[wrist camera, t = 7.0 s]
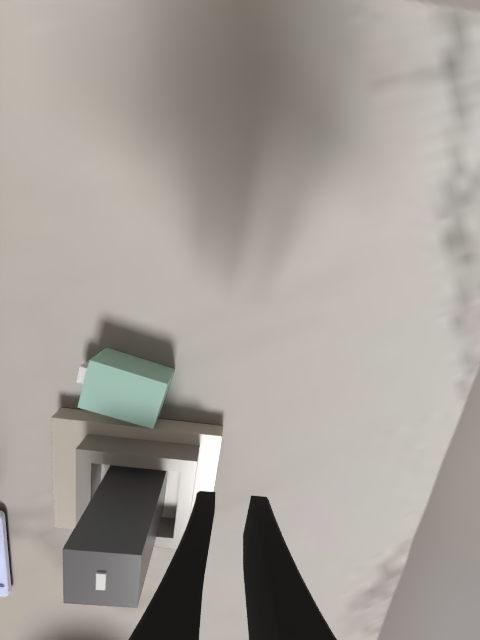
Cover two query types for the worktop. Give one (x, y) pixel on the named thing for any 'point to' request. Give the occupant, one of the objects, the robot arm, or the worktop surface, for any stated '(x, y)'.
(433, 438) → the worktop surface
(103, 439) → the plate
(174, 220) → the worktop surface
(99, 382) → the cable plug
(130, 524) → the block
